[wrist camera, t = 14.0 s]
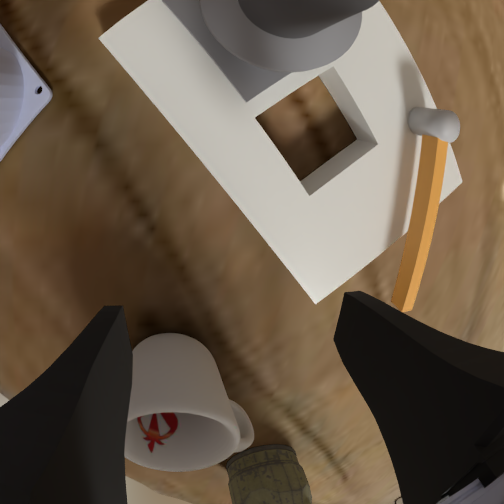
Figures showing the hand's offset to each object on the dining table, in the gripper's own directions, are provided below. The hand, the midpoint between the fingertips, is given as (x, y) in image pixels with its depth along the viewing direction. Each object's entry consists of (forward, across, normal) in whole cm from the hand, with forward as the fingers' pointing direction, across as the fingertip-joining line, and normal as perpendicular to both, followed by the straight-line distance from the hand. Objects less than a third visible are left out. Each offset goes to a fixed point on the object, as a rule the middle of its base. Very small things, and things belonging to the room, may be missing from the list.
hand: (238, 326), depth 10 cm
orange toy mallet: (+8, -12, -2) cm, 15 cm away
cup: (+11, +2, +12) cm, 16 cm away
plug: (+8, -2, -12) cm, 14 cm away
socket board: (+10, -6, -7) cm, 14 cm away
